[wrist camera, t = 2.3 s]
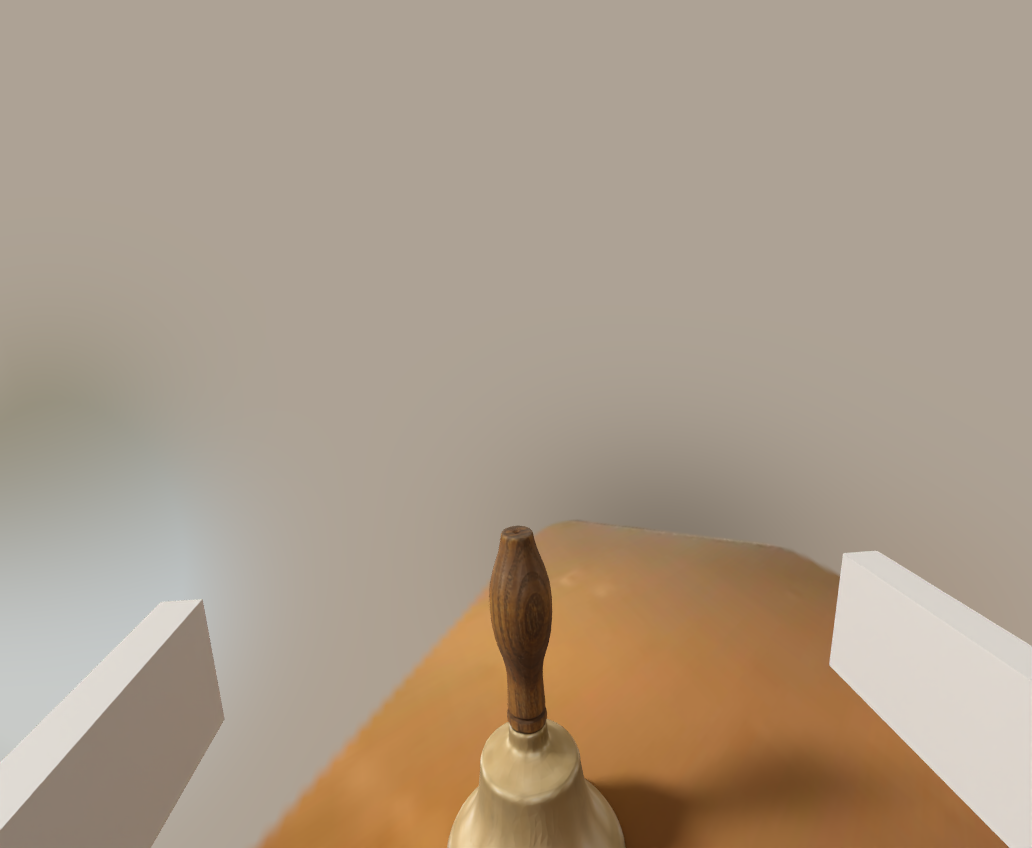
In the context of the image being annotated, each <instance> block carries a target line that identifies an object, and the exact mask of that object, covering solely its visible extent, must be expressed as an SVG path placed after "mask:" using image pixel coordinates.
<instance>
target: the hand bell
mask: <svg viewBox="0 0 1032 848" xmlns="http://www.w3.org/2000/svg"><path fill="white" fill-rule="evenodd" d="M489 598H490V613H491V621H492V627H493V631H494V635H495V639H496V642H497V645H498V647H499V650H500V652H501V655H502V657H503V660H504V662H505V666H506V671H507V686H508V712H507V718H508V722H507V723H505V724H504V725H502V726H501V727H499V728H498V729H497V730H496V731H495V732H493V734H492V735H491V736H490V737H489V739H488V740H487V742H486V744H485V746H484V748H483V751H482V755H481V760H480V779H479V786H478V787H477V788H476V789H475V790H474V791H473V793H472V794H471V795H470V796H469V797H468V799H467V800H466V801H465V803H464V804H463V806H462V807H461V809H460V811H459V813H458V815H457V817H456V819H455V821H454V824H453V826H452V829H451V832H450V836H449V840H448V846H447V848H625V841H624V836H623V832H622V829H621V826H620V823H619V821H618V819H617V817H616V814H615V813H614V811H613V809H612V807H611V806H610V804H609V803H608V801H607V800H606V799H605V798H604V796H603V795H602V794H601V793H600V791H599V790H598V789H597V788H596V787H594V786H593V785H592V784H591V783H590V782H588V781H587V780H586V779H584V775H583V771H582V766H581V761H580V753H579V750H578V747H577V745H576V743H575V741H574V739H573V738H572V736H571V735H570V734H569V732H568V731H567V730H566V729H564V728H563V727H562V726H561V725H559V724H557V723H556V722H554V721H551V720H549V719H547V711H546V707H545V695H544V685H543V661H544V656H545V653H546V650H547V646H548V643H549V638H550V633H551V622H552V596H551V588H550V582H549V578H548V575H547V572H546V569H545V566H544V563H543V561H542V559H541V556H540V554H539V552H538V549H537V546H536V543H535V540H534V536H533V532H532V530H531V529H530V528H528V527H525V526H512V527H509V528H506V529H504V530H503V531H502V533H501V539H500V545H499V551H498V554H497V557H496V561H495V564H494V567H493V571H492V576H491V581H490V591H489Z"/></svg>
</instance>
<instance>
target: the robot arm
mask: <svg viewBox="0 0 1032 848" xmlns="http://www.w3.org/2000/svg"><path fill="white" fill-rule="evenodd" d="M829 665H830V666H831V667H832V668H833V669H834V670H835V671H836V672H837V673H838V674H839V675H840V676H841V678H842V679H843V680H844V681H845V682H846V683H847V684H848V685H849V686H850V687H851V688H852V689H853V690H854V691H855V692H856V693H857V694H858V695H859V696H860V697H861V698H862V699H863V700H864V701H865V702H866V703H867V704H868V705H869V706H870V707H871V708H872V709H873V710H874V711H875V712H876V713H877V714H878V715H879V716H880V717H881V718H882V719H883V720H884V721H885V722H886V723H887V724H888V725H889V726H890V727H891V728H892V729H893V730H894V731H895V732H896V733H897V734H898V735H899V736H900V737H901V738H902V739H903V740H904V741H905V742H906V743H907V744H908V745H909V746H910V747H911V748H912V749H913V750H914V751H915V752H916V753H917V754H918V755H919V756H920V757H921V758H922V759H923V760H924V762H925V763H926V764H927V765H928V766H929V767H930V768H931V769H932V770H933V771H934V772H935V773H936V774H937V775H938V776H939V777H940V778H941V779H942V780H943V781H944V782H945V783H946V784H947V785H948V786H949V787H950V788H951V789H952V790H953V791H954V792H955V793H956V794H957V795H958V796H959V797H960V798H961V799H962V800H963V801H964V802H965V803H966V804H967V805H968V806H969V807H970V808H971V809H972V810H973V811H974V812H975V813H976V814H977V815H978V816H979V817H980V818H981V819H982V820H983V821H984V822H985V823H986V824H987V825H988V826H989V827H990V828H991V829H992V830H993V831H994V832H995V833H996V834H997V835H998V836H999V837H1000V838H1001V839H1002V840H1003V841H1004V842H1005V843H1006V845H1007V846H1008V847H1009V848H1032V646H1030V645H1029V644H1027V643H1026V642H1024V641H1022V640H1021V639H1019V638H1017V637H1016V636H1014V635H1013V634H1011V633H1009V632H1008V631H1006V630H1005V629H1003V628H1001V627H1000V626H998V625H997V624H995V623H993V622H992V621H990V620H988V619H987V618H985V617H984V616H982V615H980V614H979V613H977V612H975V611H974V610H972V609H970V608H969V607H967V606H965V605H964V604H962V603H961V602H959V601H958V600H956V599H954V598H953V597H951V596H949V595H948V594H946V593H945V592H943V591H941V590H940V589H938V588H937V587H935V586H933V585H932V584H930V583H928V582H927V581H925V580H923V579H922V578H920V577H919V576H917V575H915V574H913V573H912V572H910V571H909V570H907V569H906V568H904V567H902V566H901V565H899V564H898V563H896V562H894V561H893V560H891V559H889V558H888V557H886V556H884V555H883V554H881V553H880V552H878V551H868V552H855V553H843V559H842V567H841V575H840V584H839V592H838V600H837V608H836V616H835V624H834V632H833V640H832V648H831V656H830V664H829ZM223 721H224V714H223V709H222V703H221V698H220V692H219V687H218V682H217V676H216V670H215V665H214V659H213V654H212V649H211V643H210V638H209V632H208V627H207V621H206V616H205V610H204V605H203V600H202V599H197V600H182V601H168V602H161V603H160V604H159V605H158V606H157V607H156V608H155V609H153V610H152V612H150V614H148V616H146V617H145V618H144V619H143V621H141V623H140V624H138V625H137V626H136V628H134V630H132V631H131V632H130V633H129V634H128V635H127V636H126V637H125V638H124V640H122V641H121V643H119V645H117V646H116V647H115V648H114V649H113V650H112V651H111V652H110V653H109V655H107V656H106V657H105V658H104V660H102V661H101V662H100V663H99V664H98V665H97V666H96V667H95V668H94V670H92V671H91V672H90V673H89V674H88V675H87V676H86V677H85V678H84V679H83V680H82V681H81V682H80V683H79V684H78V685H77V686H76V687H75V688H74V689H73V690H72V691H71V692H70V693H69V694H68V695H67V696H66V697H65V698H64V700H62V701H61V702H60V703H59V704H58V705H57V706H56V707H55V708H54V709H53V710H52V711H51V712H50V713H49V714H48V715H47V716H46V717H45V718H44V719H43V720H42V721H41V722H40V723H39V724H38V725H37V726H36V727H35V728H34V729H33V730H32V731H31V732H30V733H29V734H28V735H27V736H26V737H25V738H24V739H23V740H22V741H21V742H20V743H19V744H18V745H17V746H16V747H15V748H14V749H13V750H12V751H11V752H10V753H9V754H8V755H7V756H6V757H5V758H4V759H3V760H2V761H1V762H0V848H151V846H152V845H153V843H154V841H155V839H156V838H157V836H158V834H159V832H160V831H161V829H162V827H163V825H164V824H165V822H166V820H167V818H168V817H169V815H170V813H171V811H172V810H173V808H174V806H175V805H176V803H177V801H178V799H179V798H180V796H181V794H182V792H183V791H184V789H185V787H186V785H187V784H188V782H189V780H190V778H191V776H192V775H193V773H194V771H195V770H196V768H197V766H198V764H199V763H200V761H201V759H202V757H203V756H204V754H205V752H206V750H207V749H208V747H209V745H210V743H211V742H212V740H213V738H214V737H215V735H216V733H217V731H218V730H219V728H220V726H221V724H222V723H223Z"/></svg>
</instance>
